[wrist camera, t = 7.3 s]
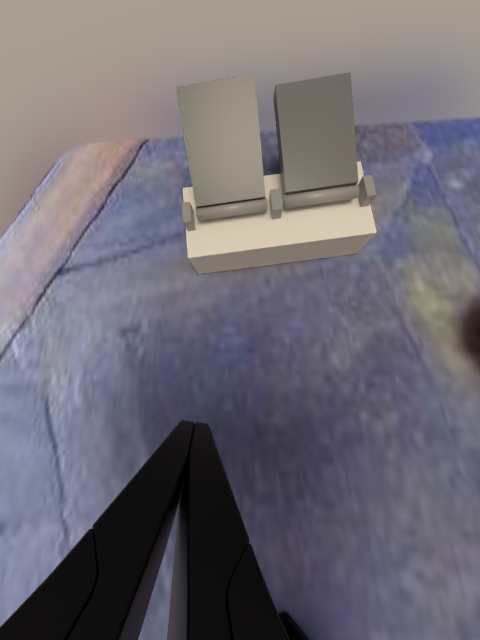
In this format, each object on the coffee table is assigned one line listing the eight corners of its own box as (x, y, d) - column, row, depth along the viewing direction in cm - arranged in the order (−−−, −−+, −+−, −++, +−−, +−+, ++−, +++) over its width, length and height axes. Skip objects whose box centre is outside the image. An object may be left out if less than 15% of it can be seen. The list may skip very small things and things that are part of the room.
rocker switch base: (356, 253, 21) (385, 223, 16) (199, 274, 21) (183, 251, 17) (344, 192, 22) (367, 147, 17) (194, 214, 22) (177, 176, 18)
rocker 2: (360, 194, 17) (351, 72, 16) (285, 205, 17) (273, 85, 16) (352, 202, 18) (343, 90, 17) (283, 211, 18) (271, 102, 17)
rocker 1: (267, 209, 17) (255, 73, 15) (196, 219, 17) (174, 87, 15) (266, 212, 18) (254, 88, 16) (199, 221, 19) (180, 100, 16)
